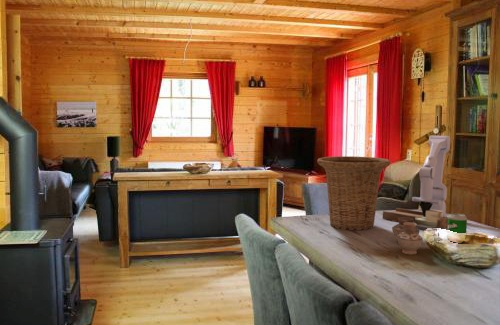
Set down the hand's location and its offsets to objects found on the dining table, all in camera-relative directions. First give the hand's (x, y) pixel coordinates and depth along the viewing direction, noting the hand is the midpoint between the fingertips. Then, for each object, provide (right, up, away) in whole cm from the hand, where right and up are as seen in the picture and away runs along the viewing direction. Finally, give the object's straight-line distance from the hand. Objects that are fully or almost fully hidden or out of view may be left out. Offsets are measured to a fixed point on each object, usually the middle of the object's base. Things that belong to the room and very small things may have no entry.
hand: (425, 216), depth 242 cm
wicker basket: (-39, -4, -5) cm, 39 cm away
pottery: (-24, -8, -44) cm, 51 cm away
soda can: (0, -7, -35) cm, 36 cm away
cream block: (+3, -1, -3) cm, 5 cm away
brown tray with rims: (-3, -3, +4) cm, 6 cm away
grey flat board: (+3, -4, -3) cm, 5 cm away
